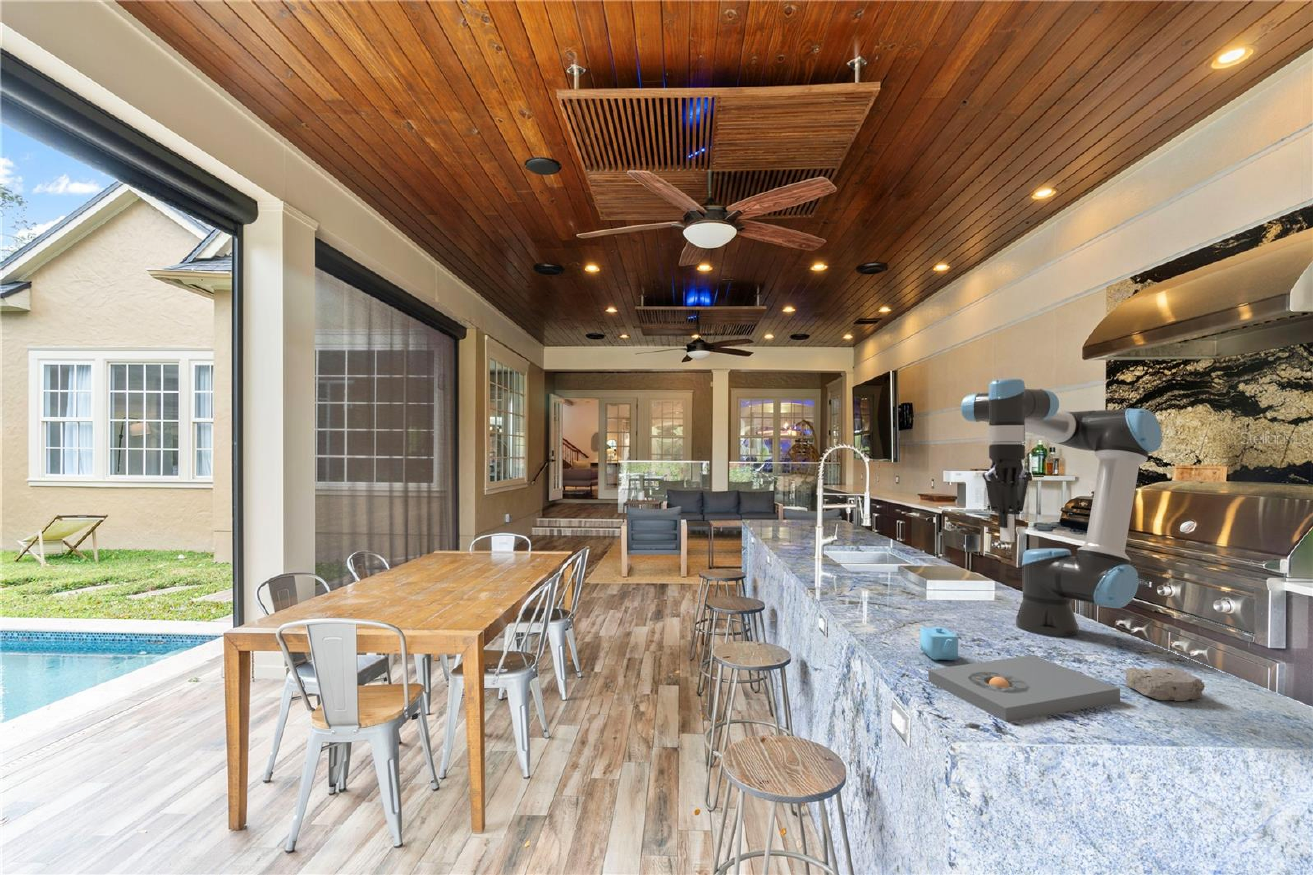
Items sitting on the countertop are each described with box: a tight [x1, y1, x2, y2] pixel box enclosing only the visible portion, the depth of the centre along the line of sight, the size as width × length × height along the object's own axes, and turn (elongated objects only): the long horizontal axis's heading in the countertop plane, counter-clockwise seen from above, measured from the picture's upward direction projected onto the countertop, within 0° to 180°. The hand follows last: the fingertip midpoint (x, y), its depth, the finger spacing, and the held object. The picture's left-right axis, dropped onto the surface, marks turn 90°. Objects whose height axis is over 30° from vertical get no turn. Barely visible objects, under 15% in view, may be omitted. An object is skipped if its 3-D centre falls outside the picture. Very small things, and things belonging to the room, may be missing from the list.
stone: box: [1125, 666, 1206, 702], centre depth 127 cm, size 13×6×10 cm
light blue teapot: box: [920, 626, 959, 661], centre depth 147 cm, size 12×6×8 cm, turn 178°
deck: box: [927, 654, 1121, 723], centre depth 128 cm, size 30×20×3 cm, turn 107°
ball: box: [989, 677, 1010, 688], centre depth 126 cm, size 4×4×4 cm
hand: (1007, 541), depth 145 cm, fingers closed
